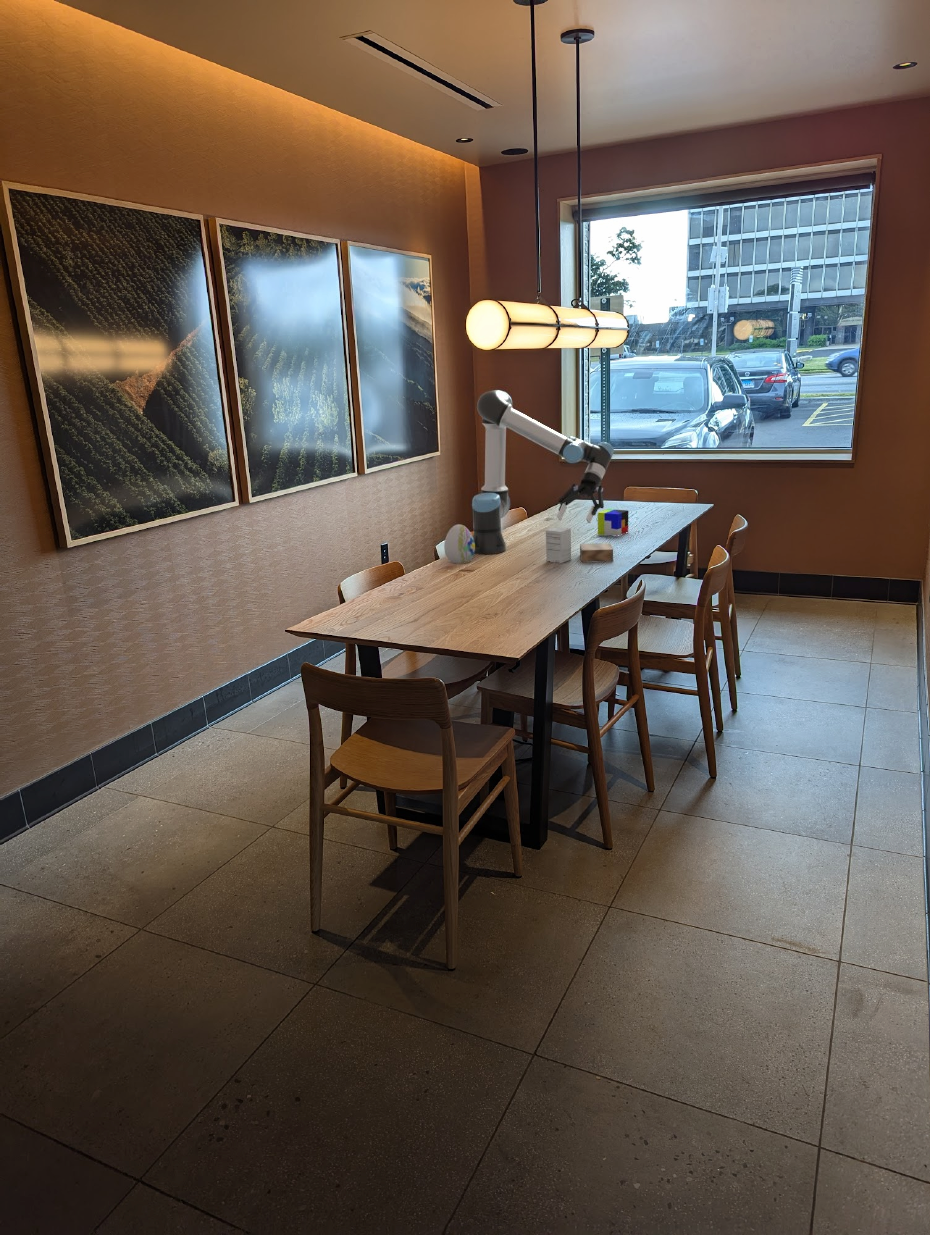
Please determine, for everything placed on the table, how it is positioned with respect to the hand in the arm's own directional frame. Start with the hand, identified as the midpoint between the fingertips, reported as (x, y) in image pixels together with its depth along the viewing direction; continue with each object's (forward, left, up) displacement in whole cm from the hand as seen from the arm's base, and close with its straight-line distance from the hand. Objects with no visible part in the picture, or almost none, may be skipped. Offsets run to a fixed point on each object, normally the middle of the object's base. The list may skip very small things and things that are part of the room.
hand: (573, 519), depth 333 cm
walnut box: (+9, -6, -15) cm, 18 cm away
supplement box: (-6, -8, -15) cm, 18 cm away
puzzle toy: (+22, +41, -15) cm, 49 cm away
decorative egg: (-46, -3, -15) cm, 48 cm away
